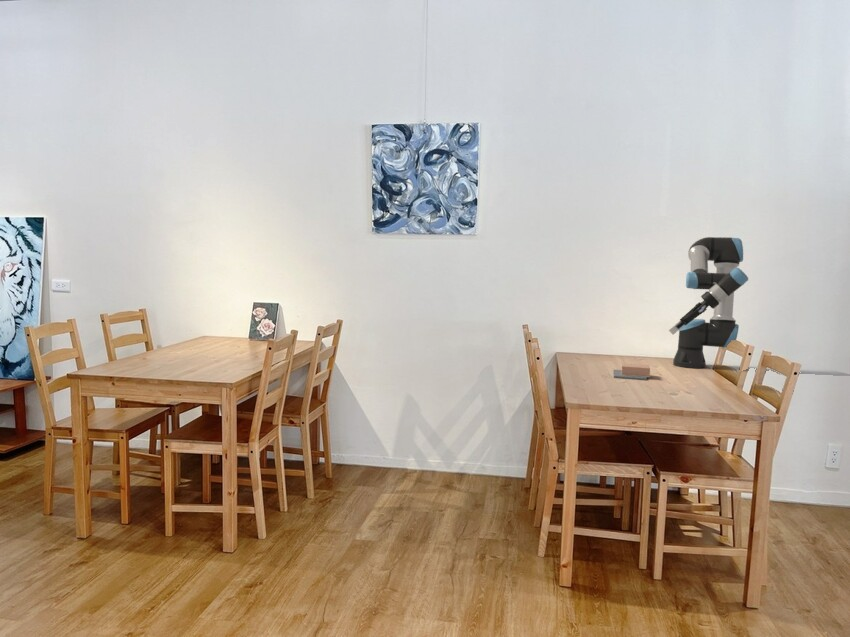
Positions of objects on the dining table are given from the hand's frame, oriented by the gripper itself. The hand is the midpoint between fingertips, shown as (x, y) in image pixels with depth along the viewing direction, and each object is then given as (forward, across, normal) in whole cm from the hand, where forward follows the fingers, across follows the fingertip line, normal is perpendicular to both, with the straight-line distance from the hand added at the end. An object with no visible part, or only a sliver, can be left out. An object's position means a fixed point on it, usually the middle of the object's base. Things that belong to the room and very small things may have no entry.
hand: (670, 332), depth 294 cm
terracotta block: (+18, 0, -7) cm, 20 cm away
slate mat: (+26, 0, -3) cm, 27 cm away
